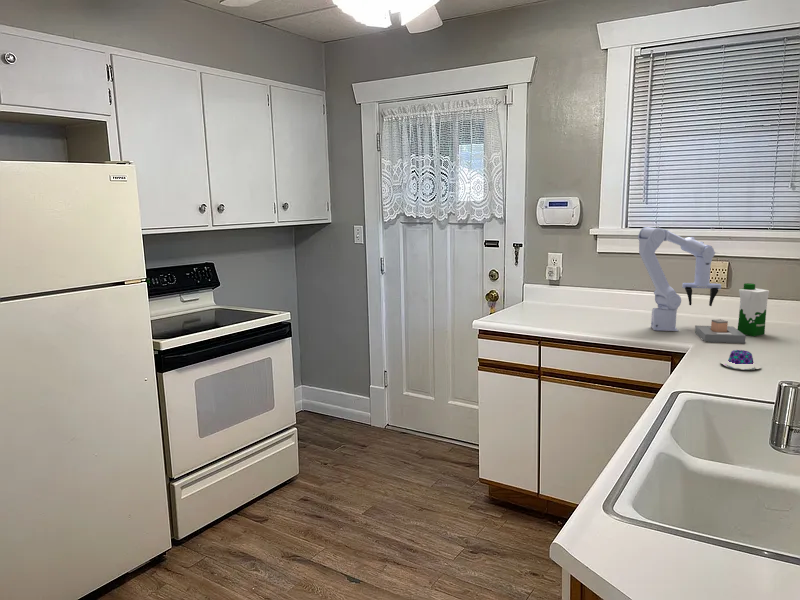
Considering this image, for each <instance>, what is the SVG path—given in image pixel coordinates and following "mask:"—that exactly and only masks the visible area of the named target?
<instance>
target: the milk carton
mask: <svg viewBox="0 0 800 600" xmlns="http://www.w3.org/2000/svg"><path fill="white" fill-rule="evenodd" d="M738 292H739V299H740V301H739V310H738V311H739V314H738V321H737V322H738V323H737V328H736V329H737V330H739V331H740V332H741V333H743V334H744V335H746V336H751V337H757V336H765V335H766V334H765V333H766V320H767V319H766V318H767V317H766V316H767V309H768V299H769V296H770V290H768V289H763V288H756V283H752V282H751V283H749V282H748V283H745V282H744V283H743V288H741V289H740V288H739V290H738Z"/></svg>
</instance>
